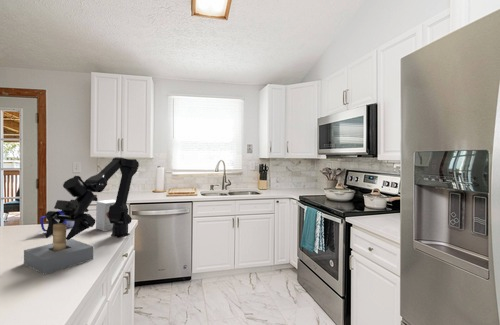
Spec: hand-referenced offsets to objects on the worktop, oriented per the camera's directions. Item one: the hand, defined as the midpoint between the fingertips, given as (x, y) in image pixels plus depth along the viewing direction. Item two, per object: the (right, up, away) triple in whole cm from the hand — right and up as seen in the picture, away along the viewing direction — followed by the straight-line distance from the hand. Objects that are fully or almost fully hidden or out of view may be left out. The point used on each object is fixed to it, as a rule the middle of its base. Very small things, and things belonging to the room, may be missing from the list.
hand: (56, 238), depth 97 cm
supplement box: (-6, -8, +47) cm, 48 cm away
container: (-28, -7, +50) cm, 58 cm away
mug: (-28, -8, +36) cm, 47 cm away
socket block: (0, -9, +2) cm, 9 cm away
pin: (0, -8, +2) cm, 8 cm away
